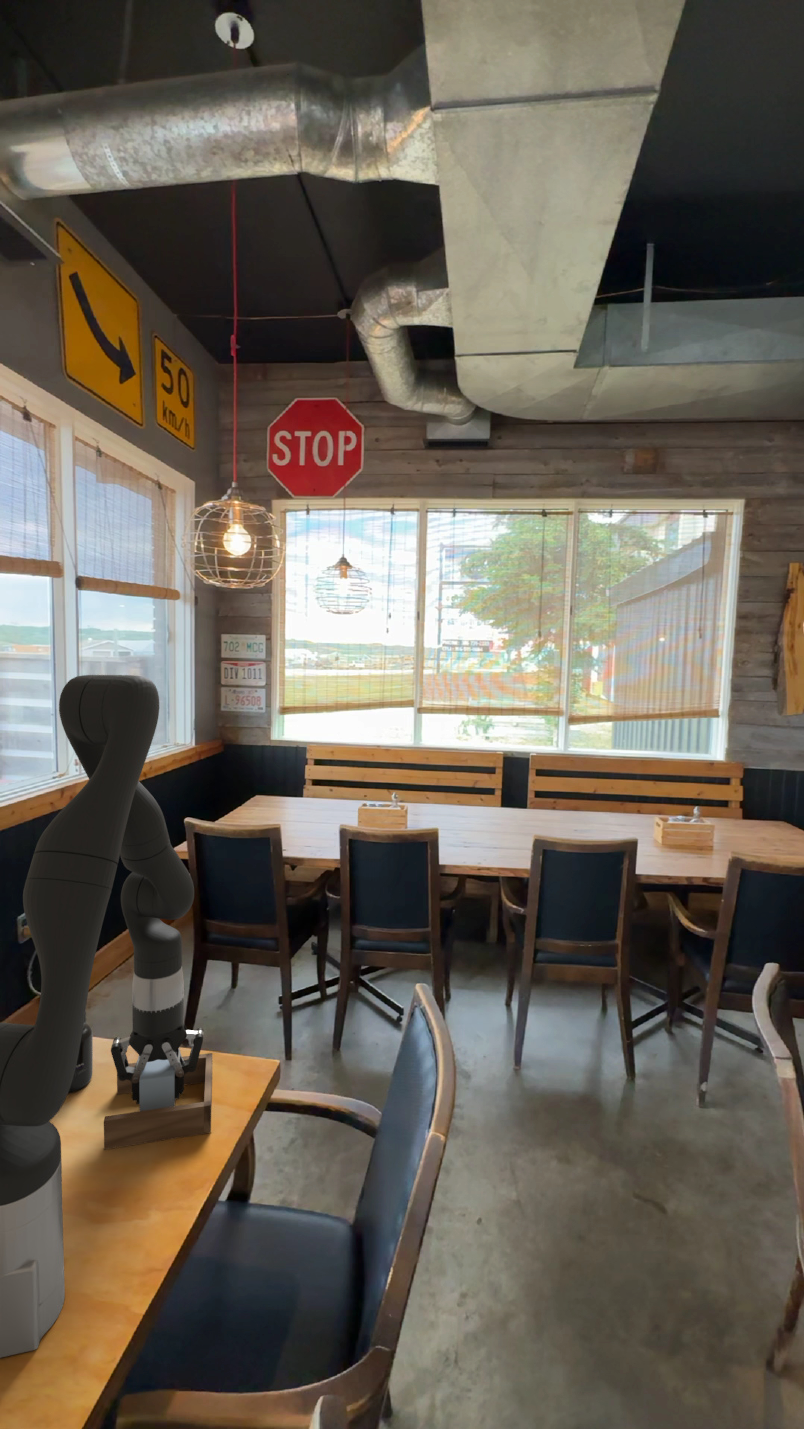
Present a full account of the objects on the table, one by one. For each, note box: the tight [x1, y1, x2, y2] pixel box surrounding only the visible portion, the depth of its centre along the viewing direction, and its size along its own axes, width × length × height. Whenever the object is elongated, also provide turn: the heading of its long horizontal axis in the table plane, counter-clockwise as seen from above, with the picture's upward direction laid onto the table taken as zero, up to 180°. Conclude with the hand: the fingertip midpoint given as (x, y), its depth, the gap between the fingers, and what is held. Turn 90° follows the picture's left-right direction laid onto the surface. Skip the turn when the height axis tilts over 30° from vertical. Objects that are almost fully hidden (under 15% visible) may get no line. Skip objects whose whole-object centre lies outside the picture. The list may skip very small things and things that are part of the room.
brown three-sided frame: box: [103, 1052, 213, 1150], centre depth 103 cm, size 13×15×4 cm
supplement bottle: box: [68, 1010, 94, 1094], centre depth 109 cm, size 7×7×12 cm
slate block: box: [139, 1060, 176, 1111], centre depth 103 cm, size 5×5×6 cm
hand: (158, 1097), depth 103 cm, fingers closed on slate block, 5 cm apart
